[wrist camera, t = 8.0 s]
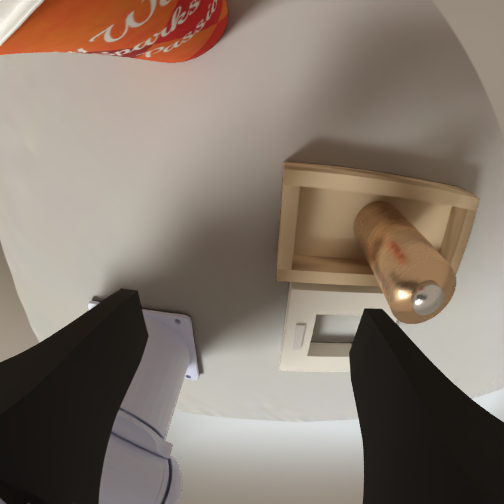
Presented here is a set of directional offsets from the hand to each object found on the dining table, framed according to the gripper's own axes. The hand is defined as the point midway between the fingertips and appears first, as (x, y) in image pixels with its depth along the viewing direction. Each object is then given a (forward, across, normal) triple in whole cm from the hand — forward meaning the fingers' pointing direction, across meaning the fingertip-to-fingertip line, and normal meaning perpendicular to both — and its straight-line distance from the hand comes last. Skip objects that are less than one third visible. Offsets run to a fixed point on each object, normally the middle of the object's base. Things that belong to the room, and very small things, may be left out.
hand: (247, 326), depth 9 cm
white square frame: (+9, -6, +8) cm, 14 cm away
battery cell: (+9, -7, 0) cm, 11 cm away
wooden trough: (+9, -7, 0) cm, 12 cm away
